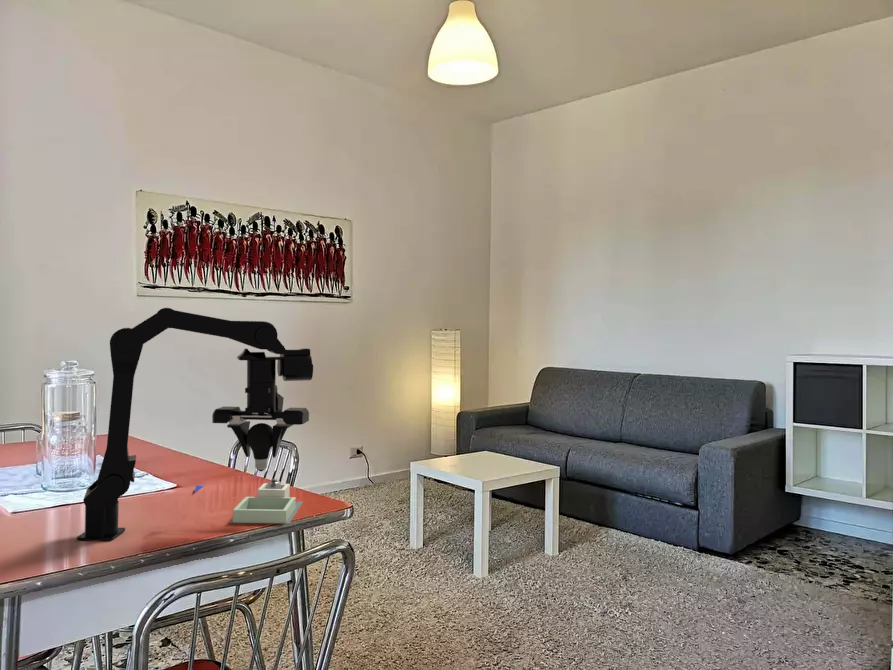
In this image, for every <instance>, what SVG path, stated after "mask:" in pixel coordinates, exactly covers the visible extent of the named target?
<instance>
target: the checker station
mask: <svg viewBox="0 0 893 670" xmlns="http://www.w3.org/2000/svg"><path fill="white" fill-rule="evenodd" d="M290 485H291V484H290V483H281V489H267V488H268V482H267V483H266V482H265V483H262V484H261V486H259V487H258V488H257V496H245V497H243V499H242V500H241V502H239V503H238V504H237V505H236V506H235V507H234V508H233V509H232V519H231V520H230V521H229V522H228V523H229V524H274V525H275V524H279V525H280V524H281V525H286V524H287V525H288V524H290V523H291V522H292V521H293V519H294V518H295V515H297V512H298V511H299V509H300V508H301V506H302V504H303V503H304V501H296V499H297V497H296V496H295V497H293V496H292V497H291V496H290V489H291V487H290Z"/></svg>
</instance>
